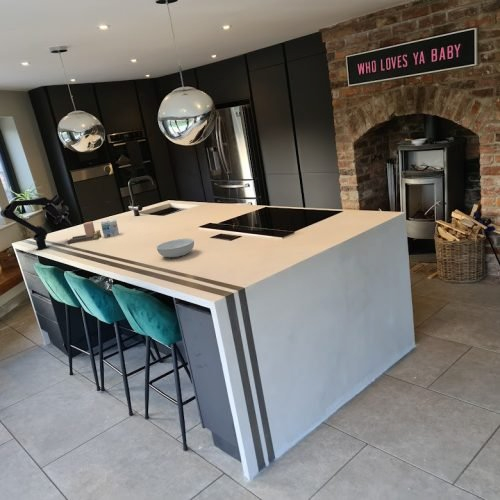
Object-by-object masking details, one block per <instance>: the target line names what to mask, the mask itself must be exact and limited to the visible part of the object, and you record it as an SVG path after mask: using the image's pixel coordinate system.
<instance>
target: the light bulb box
mask: <svg viewBox="0 0 500 500" xmlns="http://www.w3.org/2000/svg"><path fill="white" fill-rule="evenodd" d="M100 225H101V230H102V234H103V238H104V239H105V238H112V237H118V235H120V231H119V227H118V223H117V219H111V220H106V221H102V222H101V223H100Z"/></svg>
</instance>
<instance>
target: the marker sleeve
mask: <svg viewBox="0 0 500 500" xmlns="http://www.w3.org/2000/svg"><path fill="white" fill-rule="evenodd" d="M83 228H84V233H85V235H86V237H91V236H93V234H94V233H95V232H96V231H95V225H94V223H93V221H87V222H84V223H83Z"/></svg>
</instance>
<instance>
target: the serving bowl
mask: <svg viewBox="0 0 500 500" xmlns="http://www.w3.org/2000/svg"><path fill="white" fill-rule="evenodd" d="M194 246H195V240H194V239H192V238H177V239H172V240H168V241H164V242H162V243H160V244H158V245H157V246H156V251H157V252H158V254H159V255H160V256H161V257H165V258H171V257H172V258H171V259H175V258H174V257H176V258H180V256H181V257H183V256H185V255H187V254H189V253H190V252H191V251H193V248H194Z"/></svg>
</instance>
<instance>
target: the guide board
mask: <svg viewBox="0 0 500 500" xmlns="http://www.w3.org/2000/svg"><path fill="white" fill-rule="evenodd" d="M101 237H102V233H101V230H100V229H97V230H96V231H95V233H94V234H93V236H91V237H86V234H84V235H76V236H72V238H70V239H69V240H67V242H66V243H67V244H68V245H69V244H70V245H71V244H76V243H83V242H89V241H95V240H96V241H97V240H99V239H100V238H101Z"/></svg>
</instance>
